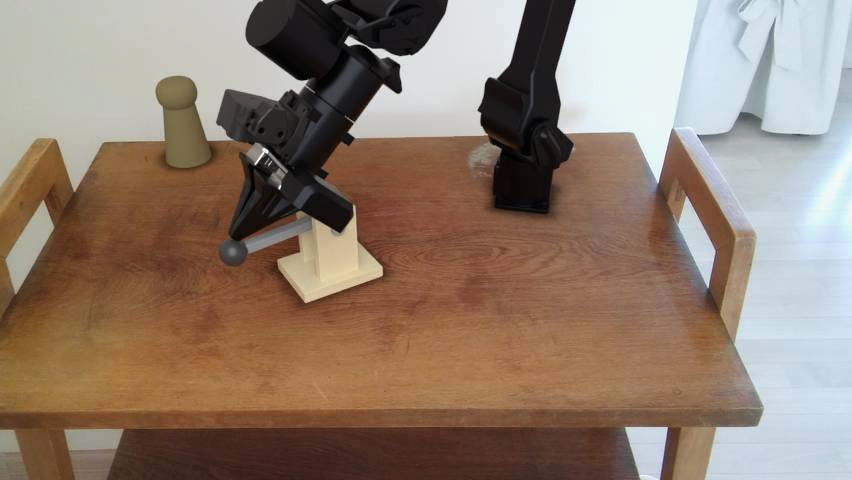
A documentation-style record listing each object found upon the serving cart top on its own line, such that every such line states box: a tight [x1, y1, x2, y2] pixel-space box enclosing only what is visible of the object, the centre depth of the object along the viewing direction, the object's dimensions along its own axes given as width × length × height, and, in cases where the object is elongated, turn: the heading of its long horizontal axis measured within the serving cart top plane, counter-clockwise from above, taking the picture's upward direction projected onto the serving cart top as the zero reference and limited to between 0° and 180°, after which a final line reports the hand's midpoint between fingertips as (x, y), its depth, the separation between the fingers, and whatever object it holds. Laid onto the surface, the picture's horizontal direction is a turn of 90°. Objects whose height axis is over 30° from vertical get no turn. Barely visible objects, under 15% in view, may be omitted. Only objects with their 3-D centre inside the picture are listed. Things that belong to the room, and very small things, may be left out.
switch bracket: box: [276, 184, 384, 304], centre depth 79 cm, size 9×7×9 cm
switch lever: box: [218, 216, 313, 268], centre depth 76 cm, size 13×3×3 cm, turn 119°
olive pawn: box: [154, 75, 212, 169], centre depth 100 cm, size 6×6×11 cm
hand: (232, 237), depth 73 cm, fingers closed, pressing on switch lever
